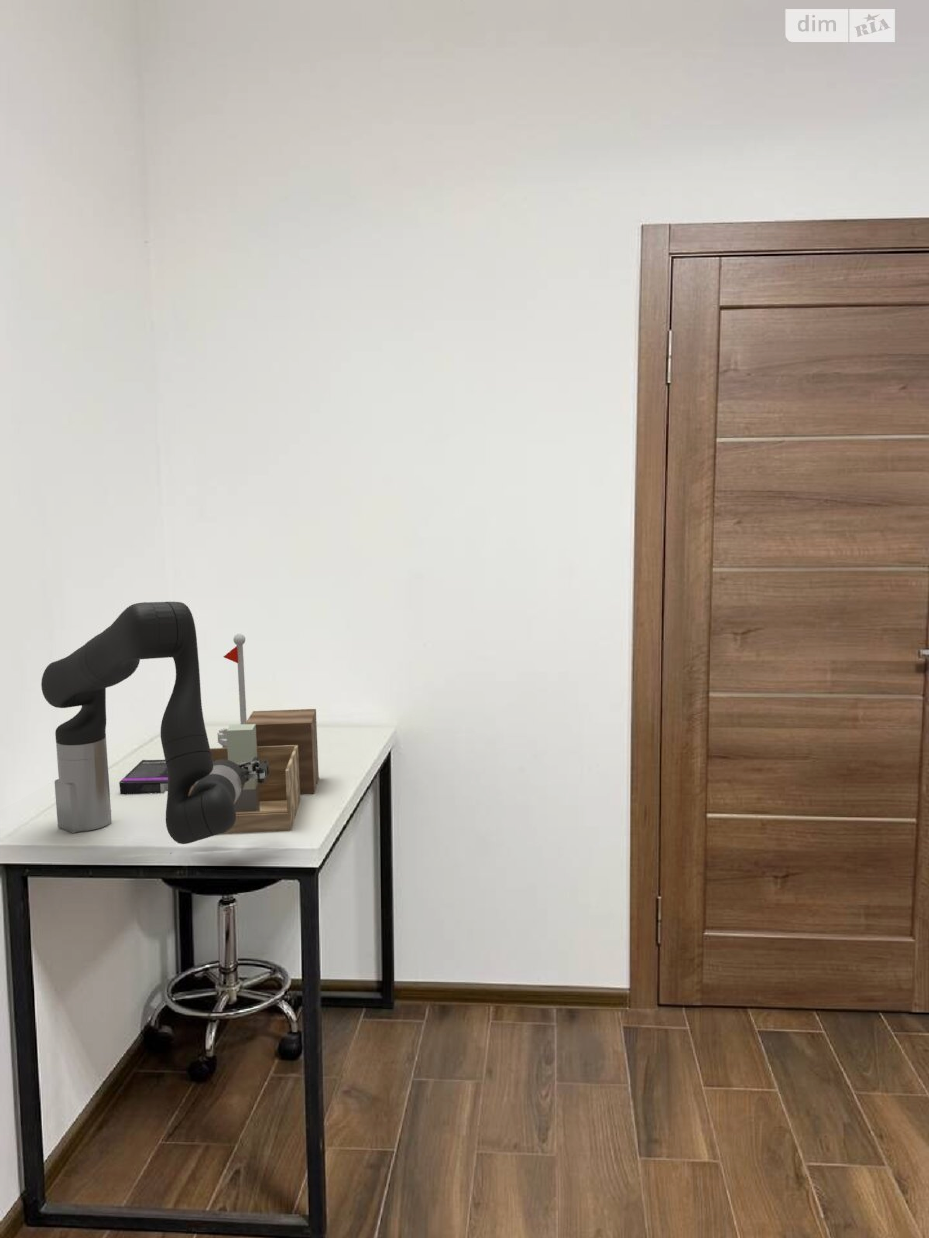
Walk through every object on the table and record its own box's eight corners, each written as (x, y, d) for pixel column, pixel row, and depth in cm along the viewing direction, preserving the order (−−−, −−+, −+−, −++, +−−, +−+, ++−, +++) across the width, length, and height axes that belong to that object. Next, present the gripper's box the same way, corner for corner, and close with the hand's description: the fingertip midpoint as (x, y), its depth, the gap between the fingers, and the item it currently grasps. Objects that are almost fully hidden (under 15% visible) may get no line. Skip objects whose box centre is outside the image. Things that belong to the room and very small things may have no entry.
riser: (314, 795, 218) (311, 722, 216) (247, 798, 217) (244, 725, 215) (318, 777, 232) (315, 708, 230) (256, 780, 231) (253, 711, 229)
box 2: (256, 818, 202) (252, 729, 200) (231, 819, 202) (226, 730, 200) (259, 810, 207) (255, 723, 205) (234, 811, 207) (230, 724, 205)
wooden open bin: (291, 832, 195) (288, 771, 193) (184, 837, 194) (180, 775, 192) (300, 800, 215) (298, 744, 214) (204, 804, 214) (201, 748, 212)
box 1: (183, 796, 223) (202, 770, 243) (183, 781, 223) (202, 756, 242) (119, 797, 223) (143, 771, 242) (118, 782, 222) (142, 757, 242)
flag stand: (249, 742, 267) (243, 628, 263) (281, 749, 259) (276, 632, 255) (207, 752, 257) (201, 635, 253) (240, 760, 249) (234, 639, 245)
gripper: (259, 763, 175) (270, 741, 191) (175, 767, 174) (193, 745, 190) (262, 805, 176) (273, 780, 192) (178, 810, 175) (196, 784, 191)
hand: (233, 763), depth 191 cm, fingers open, 8 cm apart
